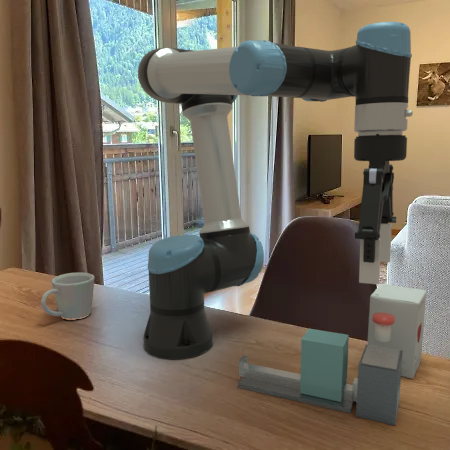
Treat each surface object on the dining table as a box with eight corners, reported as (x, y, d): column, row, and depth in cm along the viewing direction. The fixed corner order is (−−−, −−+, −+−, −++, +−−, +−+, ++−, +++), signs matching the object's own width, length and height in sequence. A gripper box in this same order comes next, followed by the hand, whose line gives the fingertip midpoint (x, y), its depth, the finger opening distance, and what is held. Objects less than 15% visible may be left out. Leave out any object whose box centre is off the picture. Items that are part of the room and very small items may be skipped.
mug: (105, 312, 121) (103, 275, 119) (57, 333, 109) (54, 292, 107) (78, 305, 127) (75, 270, 125) (29, 324, 114) (26, 285, 112)
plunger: (370, 340, 75) (371, 318, 74) (372, 332, 78) (374, 311, 77) (392, 344, 73) (393, 321, 72) (394, 336, 76) (395, 314, 76)
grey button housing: (356, 416, 75) (358, 363, 74) (363, 392, 82) (365, 342, 81) (395, 425, 73) (398, 370, 71) (399, 399, 80) (402, 349, 78)
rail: (233, 386, 85) (233, 366, 84) (247, 369, 91) (247, 350, 90) (355, 414, 76) (356, 392, 75) (361, 393, 82) (362, 372, 81)
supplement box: (413, 380, 86) (419, 303, 84) (365, 368, 91) (368, 295, 88) (422, 360, 94) (427, 289, 91) (377, 350, 99) (380, 282, 96)
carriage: (300, 393, 80) (301, 339, 79) (307, 380, 85) (308, 328, 83) (341, 402, 78) (343, 346, 76) (346, 388, 82) (348, 334, 80)
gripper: (398, 132, 57) (392, 297, 61) (413, 134, 79) (407, 255, 83) (337, 133, 61) (334, 291, 64) (367, 135, 83) (364, 252, 86)
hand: (375, 271), depth 74 cm, fingers open, 13 cm apart
